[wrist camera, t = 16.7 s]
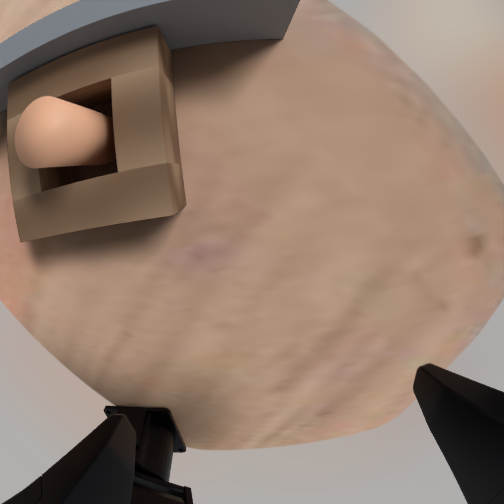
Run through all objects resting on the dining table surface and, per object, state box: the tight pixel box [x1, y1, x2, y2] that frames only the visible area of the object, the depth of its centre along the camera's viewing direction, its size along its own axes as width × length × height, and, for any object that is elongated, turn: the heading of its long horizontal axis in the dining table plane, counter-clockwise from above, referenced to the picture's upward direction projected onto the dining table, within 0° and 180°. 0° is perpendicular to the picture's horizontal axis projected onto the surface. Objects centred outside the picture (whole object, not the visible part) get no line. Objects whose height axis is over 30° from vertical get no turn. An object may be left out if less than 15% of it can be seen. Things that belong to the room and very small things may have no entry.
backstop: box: [0, 0, 300, 113], centre depth 11 cm, size 2×24×6 cm, turn 96°
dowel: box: [15, 96, 116, 168], centre depth 12 cm, size 3×3×7 cm
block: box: [7, 26, 186, 242], centre depth 14 cm, size 10×10×4 cm
